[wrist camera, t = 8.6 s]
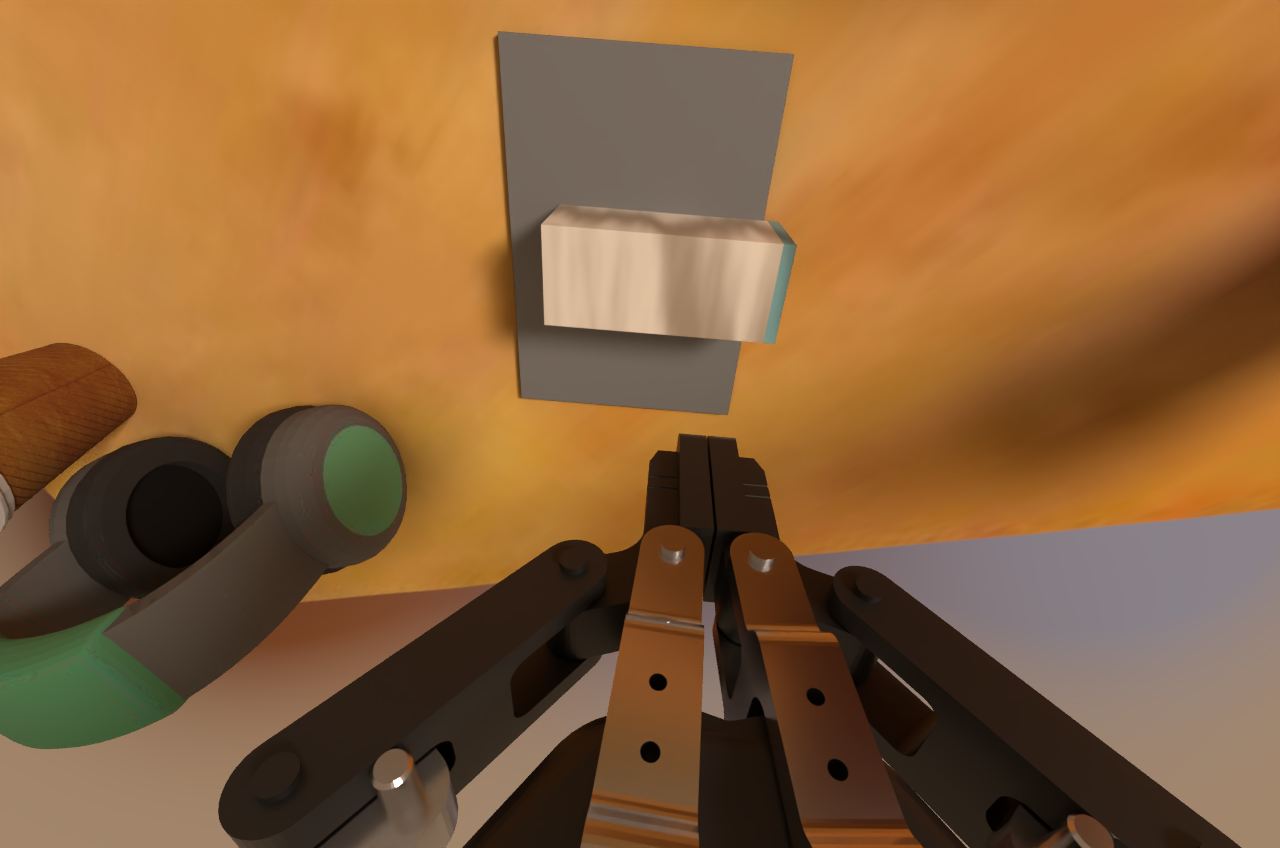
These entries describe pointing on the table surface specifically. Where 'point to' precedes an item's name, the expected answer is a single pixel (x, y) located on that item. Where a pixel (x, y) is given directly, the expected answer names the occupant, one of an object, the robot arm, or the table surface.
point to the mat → (631, 191)
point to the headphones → (185, 567)
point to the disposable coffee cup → (54, 415)
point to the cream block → (665, 273)
